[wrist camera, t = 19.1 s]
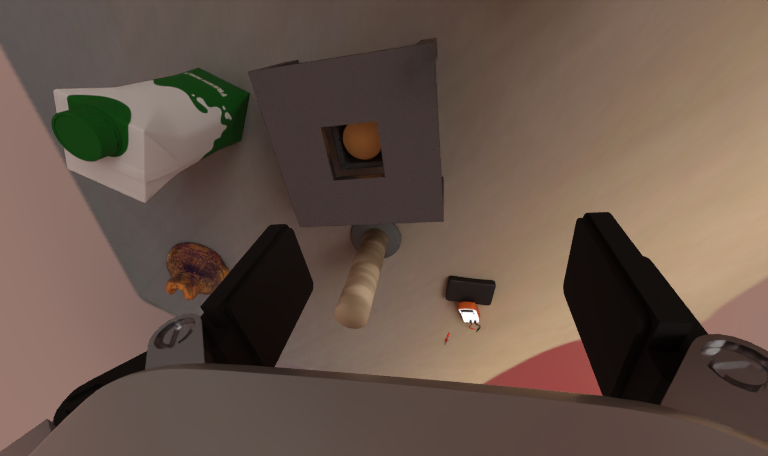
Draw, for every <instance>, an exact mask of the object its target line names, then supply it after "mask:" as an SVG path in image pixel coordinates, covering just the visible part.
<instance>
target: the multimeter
mask: <svg viewBox="0 0 768 456" xmlns="http://www.w3.org/2000/svg"><path fill="white" fill-rule="evenodd" d="M495 287H496V285H495V281H493V280H482V279H472V278H464V277H457V276H449V280H448V286H447V292H446V299H447V300H449V301H458V302H459V304H458V310H459V311H460V313H461V315H462V319H463V321H464V322H468V323H471V325H472V323H475V324H476V323H478V322H480V313H479V311H478V308H477V305H476V304H481V305H490V304H491V301H492V298H493V294H494V290H495ZM471 325H470V326H471ZM476 325H478V324H476ZM470 326H469V328H470ZM478 326H480V325H478ZM471 329H473V328H471ZM479 329H480V327H479ZM479 329H478V330H479ZM478 330H477V331H478ZM477 331H476V332H477ZM448 336H449V333H448V335H447V338H446V339H445V340H446V342H447V341H448ZM445 344H446V343H445Z"/></svg>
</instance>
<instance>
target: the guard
mask: <svg viewBox="0 0 768 456" xmlns="http://www.w3.org/2000/svg"><path fill="white" fill-rule="evenodd" d="M436 57H437V39H436V38H432V39H426V40H421V41H420V42H419V43H418V44H417V45H412V46H406V47H400V48H393V49H387V50H381V51H374V52H368V53H361V54H355V55H349V56H342V57H336V58H330V59H323V60H317V61H311V62H304V63H299V61H298V60H295V61H288V62H284V63H280V64H276V65H272V66H268V67H265V68H261V69H257V70H253V71H250V72H248V74H249V77H250V80H251V83H252V86H253V89H254V92H255V95H256V98H257V101H258V104H259V107H260V110H261V113H262V116H263V119H264V122H265V125H266V128H267V131H268V134H269V137H270V140H271V143H272V145H273V148H274V151H275V154H276V157H277V160H278V163H279V166H280V169H281V172H282V175H283V178H284V181H285V184H286V187H287V190H288V193H289V196H290V199H291V202H292V205H293V208H294V211H295V214H296V217H297V220H298V223H299V226H300V227H313V226H339V225H365V224H391V223H417V222H443V221H444V181H443V177H441V160H440V141H439V122H438V103H437V84H436V65H435V62H436ZM375 121H377V126H378V133H379V139H380V146H381V151H380V152H379V153H378V154H377V155H376V156H375V157H373V158H370V159H359V158H356V157H354V156H353V155H351V154H350V153H349V152H348V151H347V149H346V148H345V145H344V142H343V133H344V130H345V128H346V126H347V125H348V124H357V123H366V122H375ZM329 126H331V128H332V132H333V137H334V141H335V145H336V150H337V154H338V159H339V163H340V167H341V170H343V169H356V168H369V167H382V166H384V172H385V174H371V175H357V176H344V177H336V175H335V170H334V166H333V162H332V158H331V154H330V150H329V145H328V141H327V137H326V133H325V129H324V127H329Z"/></svg>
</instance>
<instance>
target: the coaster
mask: <svg viewBox="0 0 768 456" xmlns="http://www.w3.org/2000/svg"><path fill="white" fill-rule="evenodd" d="M371 228H377V229H381V230H382V231H384V232H385V233H386V234H387V236H388V244H387V248H386V252H385V255H384V258H387V257H389V256H391V255H393V254H394V253H395V252H396V251H397V250H398V248H399V246H400V242H401V236H400V232H399V230H398V228H397V227H396V226H395V225H394V224H393V223H391V224H365V225H354V226H353V228H352V231H351V240H352V243H353V245H354V246H355V248H356V249H357V250H358V249H359V246H360V243H361V241H362V238H363V235H364V233H365V232H366V231H367V230H368V229H371Z"/></svg>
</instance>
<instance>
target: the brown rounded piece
mask: <svg viewBox="0 0 768 456" xmlns="http://www.w3.org/2000/svg"><path fill="white" fill-rule="evenodd" d="M191 247H192V248H191ZM194 248H195V249H194ZM208 260H209V261H208ZM167 268H168V271H169V273H170V275H171V277H172V278H171V279H170V280H169V281H168V282H167V283H166V291H167V293H168V294H173V293H174V292H175V291H176V290H177V289H179V290H182V291H183V293H184V297H185V298H186V299H188V300H193V299H194V298H195V297H196V296H197V294H198V293H199V294H204V295H209V294H212V292H213V291H214V290H215V289H216V288H217V287H218V285H219V284H220V283H221V282H222V281H223V279H224V278H225V277H226V276H227V275H228V273H229V269H228V267H227V266H226V265H225V263H224V262H223V260H222V259H221V257H220V256H219V255H218V254H217V253H216V252H214V251H213V250H211V249H210V248H208V247H205V246H203V245H200V244H196V243H181V244H178V245H176V246H174V247H173V248H172V249H171V251H170V253H169V255H168V259H167ZM216 275H217V276H216Z"/></svg>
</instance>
